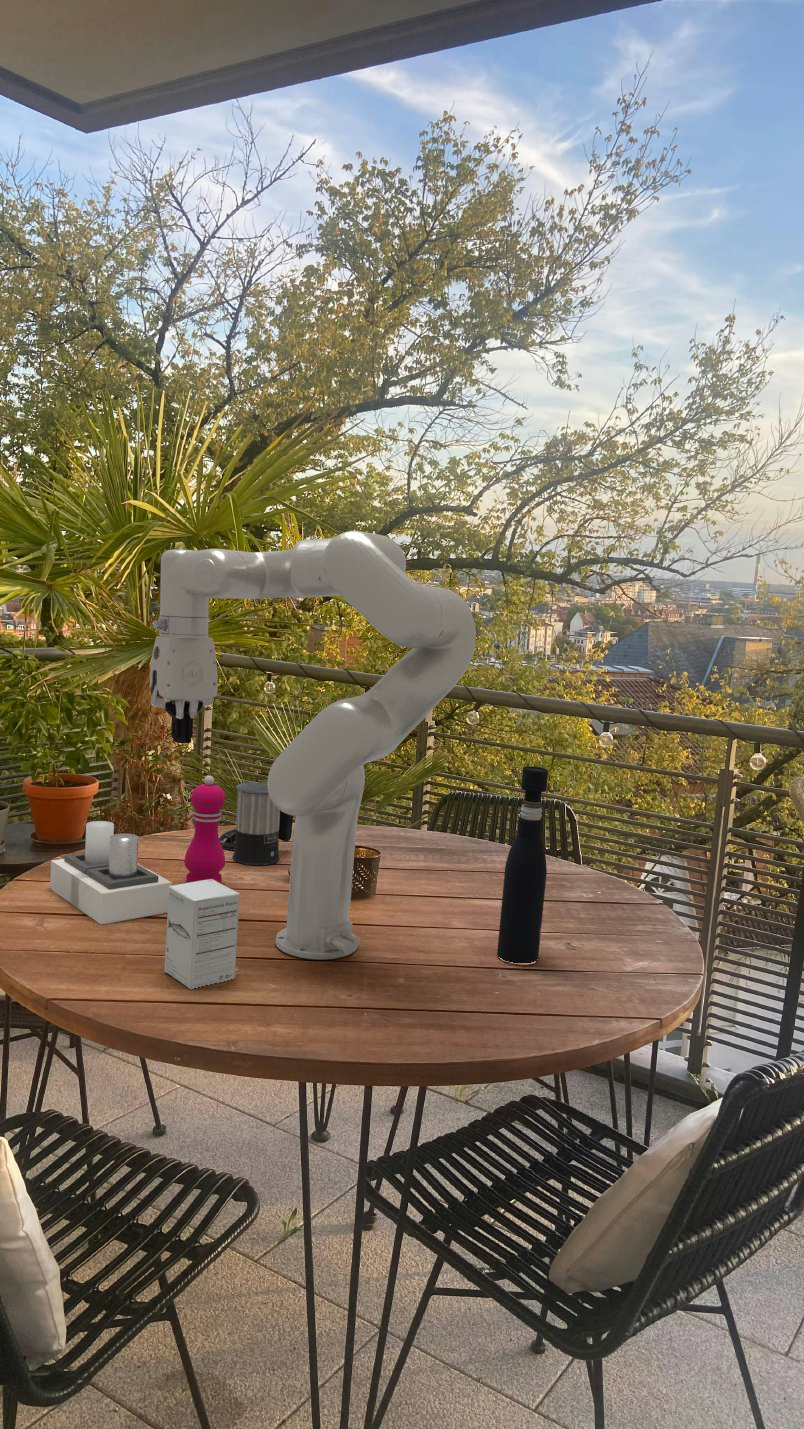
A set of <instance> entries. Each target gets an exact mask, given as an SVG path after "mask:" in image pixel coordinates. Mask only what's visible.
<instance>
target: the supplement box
mask: <svg viewBox="0 0 804 1429" xmlns="http://www.w3.org/2000/svg"><path fill="white" fill-rule="evenodd" d="M240 897H241V894H240V892H238V891H236V890H233V889H232V888H230V887H228V886H226V885H224V884H223V883H221V884H220V883H219V882H217V881H215V880H213V879H209V880H202V881H196V882H190V883H186V882H185V883H179V884H174V885H173V884H172V886H169V893H168V913H166V914H167V916H166V931H165V932H166V935H165V950H164V951H165V953H164V954H165V955H164V972H165V973H166V974H168V975H170V976H171V977H172V978H174V979H175V980H177V981H179V982H180V983H181V984H183V986H185V987H187V989H189V990H195V989H194V988H196V989H199V988H198V987H200V988H202V987H201V986H204V987H206V986H205V985H208V986H211V985H210V984H213V985H215V984H214V983H217V984H220V982H221V983H223V982H224V981H225V982H227V981H228V980H229V981H232V980H234V979H235V977H236V976H235V975H236V962H237V961H236V960H237V949H238V948H237V946H238V928H239V914H240V913H239V912H240V899H241V898H240ZM231 979H232V980H231ZM225 982H224V983H225Z"/></svg>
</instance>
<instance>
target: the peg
mask: <svg viewBox="0 0 804 1429" xmlns="http://www.w3.org/2000/svg"><path fill="white" fill-rule="evenodd" d="M139 838H140V837H139V836H138V835H137V834H133V833H114V835H112V836H110V850H109V875H108V877H109V878H110V879H112V880H119V879H126V878H132V877H137V865H138V864H139V862H138V859H139Z"/></svg>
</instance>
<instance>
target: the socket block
mask: <svg viewBox="0 0 804 1429" xmlns="http://www.w3.org/2000/svg"><path fill="white" fill-rule="evenodd" d="M114 830H115V824H114V823H113V822H112V821H107V820H96V821H95V820H93V821H89V822H87V823H86V824H85V846H84V848H85V849H84V850H85V851H84V852H82V853H81V852H80V853H74V854H73V853H72V854H66V855H65V854H64V858H60V859H52V860H51V861H50V880H49V881H50V883H49V889H50V890H51V891H53V892H54V893H56V894H57V895H58V896H60V897H61V898H63V899H64V900H65V901H66V902H68V903H69V904H71V905H72V906H74V907H75V908H76V909H78V910H79V911H81V912H82V913H84V914H85V915H87V916H88V917H89V918H91V919H93V921H95V922H97V923H98V924H99V925H106V924H112V923H117V922H123V921H129V920H134V919H140V918H145V917H150V916H155V915H161V914H167V913H168V893H169V886H173V882H172V881H171V880H168V879H167V878H164V877H163V876H161V875H159V874H157V873H156V872H155V871H152V870H150V869H148V868H147V867H145V866H143V865H142V864H140V863H138V865H137V877H132V878H126V879H119V880H112V879H110V878H109V877H108V875H109V850H110V836H112V835H115V833H114V832H115V831H114Z"/></svg>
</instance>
